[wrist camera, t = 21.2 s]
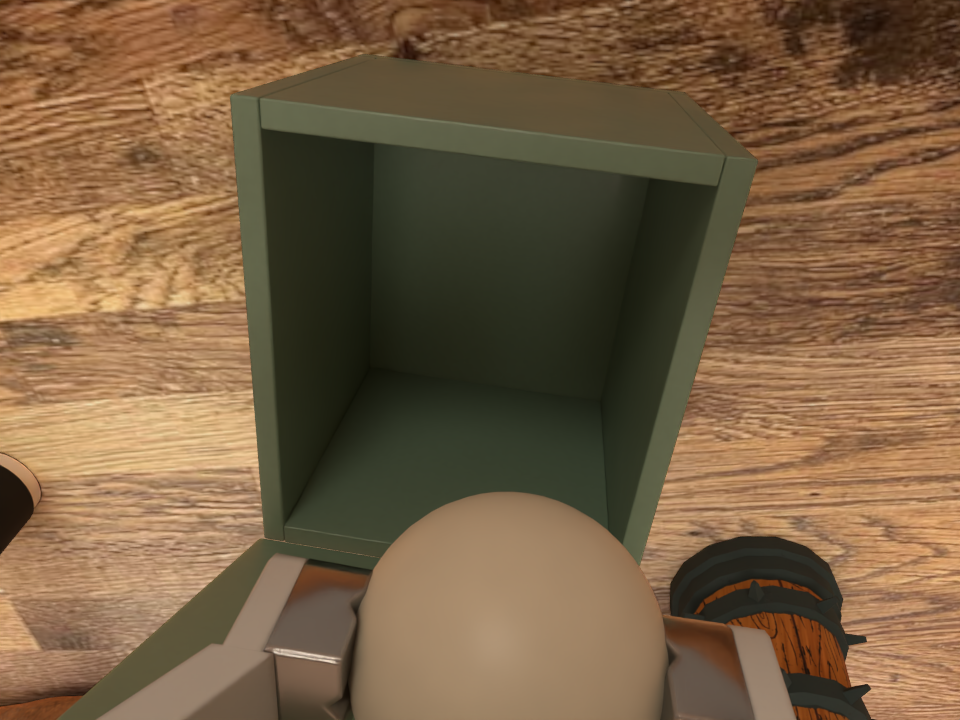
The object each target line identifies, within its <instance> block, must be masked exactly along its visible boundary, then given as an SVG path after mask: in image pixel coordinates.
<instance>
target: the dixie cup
mask: <svg viewBox="0 0 960 720" xmlns="http://www.w3.org/2000/svg"><path fill="white" fill-rule="evenodd" d="M40 497H41V491H40V486H39V484H38V482H37V480H36V478H35V477H34V475H33V474H32V473H31V472H30V471H29V470H28V469H27V468H26V467H25V466H24V465H23V464H21V463H20V462H19V461H17V460H15V459H13V458H12V457H9V456H7V455H4V454H1V453H0V554H1V553H2V552H3V551H4V549H5V548H6V547H7V546H8V545H9V543H10V542H11V541H12V540H13V538H14V537H15V536H16V535H17V534H18V532H19V531H20V530H21V529H22V527H23V526H24V525H25V524H26V523H27V521H28V520H29V519H30V518H31V516H32V514H33V511H34V507H35V506H36V505H37V504H38V502H39V500H40Z"/></svg>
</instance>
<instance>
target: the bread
mask: <svg viewBox="0 0 960 720" xmlns="http://www.w3.org/2000/svg"><path fill="white" fill-rule="evenodd" d="M81 697H82V696H62V697H52V698H46V699H41V700H37V701H32V702H27V703H22V704H15V705H8V706H0V720H57V719H58V718H59V717H60V716H61V715H62V714H63V713H64V712H65V711H67V710H68V709H69V708H70V707H71V706H72V705H73V704H74V703H76V702H77V701H78V700H79V699H80V698H81Z"/></svg>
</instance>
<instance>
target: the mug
mask: <svg viewBox="0 0 960 720" xmlns="http://www.w3.org/2000/svg"><path fill="white" fill-rule="evenodd" d="M842 602H843V598H842V595H841V593H840V590H839V588H838V586H837V583H836V581H835V578H834V576H833V574H832V571H831V569H830V567H829V565H828V564H827V563H826V562H825V561H823V560H822V559H821V558H820V557H819V556H817V555H816V554H815V553H814V552H812V551H811V550H810V549H809V548H807V547H805V546H802V545H799V544H796V543H793V542H790V541H786V540H783V539H780V538H777V537H738V538H735V539H731V540H728V541H724V542H721V543H717V544H714V545H710V546H708V547H706V548H705V549H703V550H702V551H700V552H699V553H697V554H696V555H694V556H693V557H691V558H690V559H689V560H687V561H686V562H684V563H683V565H682V566H681V568H680V570H679V571H678V573H677V574H676V576H675V578H674V579H673V581H672V582H671V586H670V611H671V616H675V617H681V618H688V619H695V620H702V621H709V622H716V623H723V624H725V625H734V626H741V627H748V628H754V629H761V630H765V631H766V633H767V634H768V635H769V636H770V638H771V641H772V645H773V648H774V651H775V654H776V657H777V660H778V663H779V666H780V669H781V673H782V676H783V679H784V682H785V685H786V688H787V691H788V694H789V697H790V701H791V704H792V707H793V710H794V713H795V716H796V719H797V720H875V719H871V717H870V715H869V713H868V711H867V709H866V707H865V705H864V703H863V701H862V698H861V697H862V696H863V695H865V694H866V693H867V692H868V691H870V690H871V688H870V687H869V685H868V684H865V685H860V686H854V687H851V684H850V680H849V676H848V672H847V669H846V665H845V660H846V656H847V652H848V649H849V647H848V645H853V644H859V643H864V642H867V640H866V637H865V636H859V635H852V634H845V632H844V629H843V627H842V625H841V623H840V622H841V617H842V615H841V612H840V611H841V607H842Z"/></svg>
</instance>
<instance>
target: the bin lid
mask: <svg viewBox="0 0 960 720" xmlns="http://www.w3.org/2000/svg"><path fill="white" fill-rule="evenodd" d="M276 553H279V554H285V555H290V556H296V557H302V558H307V559H316V560H321V561H326V562H332V563H337V564H343V565H348V566H354V567H359V568H364V569H370V570H373V569H374V568H375V566H376V565H377V563H378V562H379V560H380V559H381V558H377V557H371V556H365V555H359V554H353V553H346V552H340V551H334V550H328V549H322V548H316V547H310V546H304V545H298V544H292V543H286V542H280V541H273V540H267V539H259V540H258V541H257V542H255V543H254V544H253V545H252V546H251V547H250V548H249V549H248V550H246V551H245V552H244V553H243V554H242V555H241V556H240V557H239V558H237V559H236V560H235V561H234V562H233V563H232V564H231V565H230V566H228V567H227V568H226V569H225V570H224V571H223V572H222V573H221V574H219V575H218V576H217V577H216V578H215V579H214V580H213V581H212V582H210V583H209V584H208V585H207V586H206V587H205V588H204V589H203V590H201V591H200V592H199V593H198V594H197V595H196V596H195V597H194V598H192V599H191V600H190V601H189V602H188V603H187V604H186V605H185V606H184V607H182V608H181V609H180V610H179V611H178V612H177V613H176V614H175V615H173V616H172V617H171V618H170V619H169V620H168V621H167V622H166V623H164V624H163V625H162V626H161V627H160V628H159V629H158V630H157V631H155V632H154V633H153V634H152V635H151V636H150V637H149V638H148V639H146V640H145V641H144V642H143V643H142V644H141V645H140V646H139V647H137V648H136V649H135V650H134V651H133V652H132V653H131V654H130V655H128V656H127V657H126V658H125V659H124V660H123V661H122V662H121V663H119V664H118V665H117V666H116V667H115V668H114V669H113V670H112V671H110V672H109V673H108V674H107V675H106V676H105V677H104V678H103V679H101V680H100V681H99V682H98V683H97V684H96V685H95V686H94V687H92V688H91V689H90V690H89V691H88V692H87V693H86V694H85V695H83V696H82V697H81V698H80V699H79V700H78V701H77V702H76V703H74V704H73V705H72V706H71V707H70V708H69V709H68V710H67V711H65V712H64V713H63V714H62V715H61V716H60V717H59V718H58V719H57V720H96V719H97V718H99V717H101V716H102V715H104V714H105V713H107V712H108V711H110V710H111V709H113V708H114V707H116V706H117V705H119V704H120V703H122V702H123V701H125V700H126V699H128V698H129V697H131V696H132V695H134V694H135V693H137V692H139V691H140V690H142V689H143V688H145V687H146V686H148V685H149V684H151V683H152V682H154V681H155V680H157V679H158V678H160V677H161V676H163V675H164V674H166V673H167V672H169V671H170V670H172V669H173V668H175V667H177V666H178V665H180V664H181V663H183V662H184V661H186V660H187V659H189V658H190V657H192V656H193V655H195V654H196V653H198V652H199V651H201V650H202V649H204V648H205V647H207V646H208V645H210V644H211V643H214V644H221V645H222V644H223V642H224V641H225V639H226V637H227V635H228V633H229V631H230V630H231V628H232V626H233V624H234V622H235V620H236V619H237V617H238V615H239V613H240V611H241V609H242V608H243V606H244V604H245V602H246V600H247V599H248V597H249V595H250V593H251V591H252V589H253V588H254V586H255V584H256V582H257V580H258V578H259V577H260V575H261V573H262V571H263V569H264V567H265V566H266V564H267V562H268V561H269V560H270V559H271V558H272V557H273V556H274V555H275V554H276ZM352 720H355V718H354V715H353V718H352Z"/></svg>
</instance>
